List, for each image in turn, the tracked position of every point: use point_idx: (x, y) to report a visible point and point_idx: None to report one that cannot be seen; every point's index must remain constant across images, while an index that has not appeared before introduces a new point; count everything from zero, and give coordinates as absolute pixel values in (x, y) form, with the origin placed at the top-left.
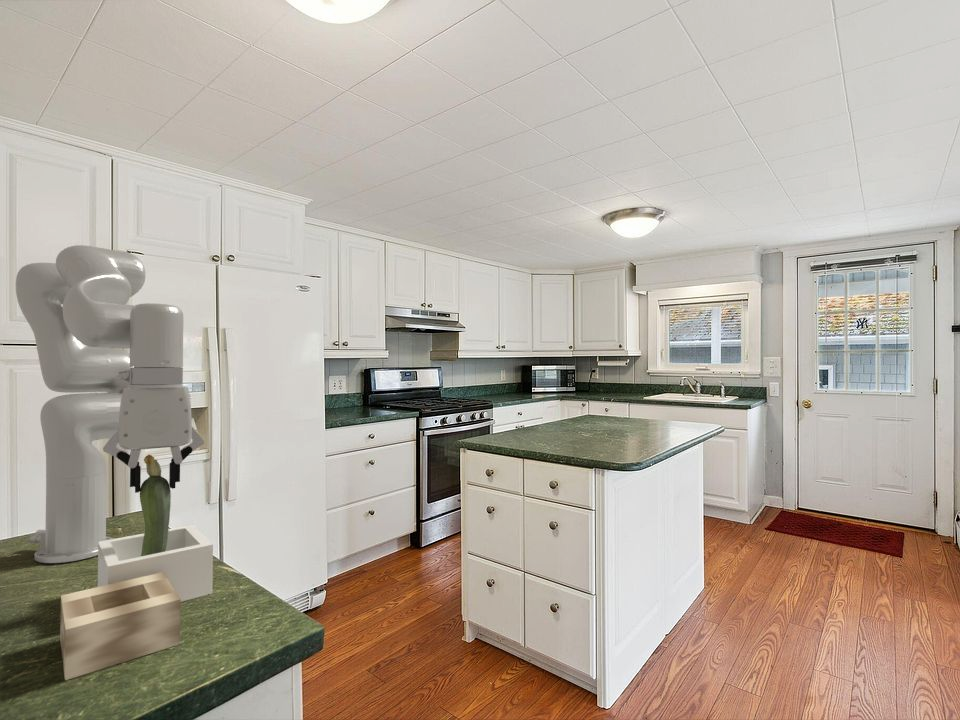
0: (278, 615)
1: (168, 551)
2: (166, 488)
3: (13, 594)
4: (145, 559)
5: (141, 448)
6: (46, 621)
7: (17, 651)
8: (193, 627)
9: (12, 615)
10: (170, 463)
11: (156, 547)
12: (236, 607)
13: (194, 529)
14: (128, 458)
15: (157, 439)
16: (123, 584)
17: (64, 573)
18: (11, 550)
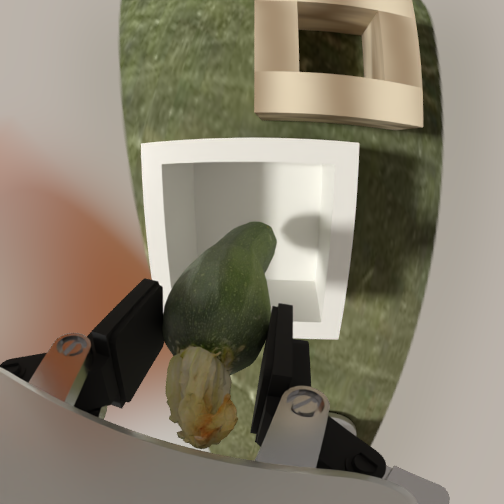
0: (135, 17)
1: (230, 155)
2: (176, 289)
3: (406, 346)
4: (283, 138)
5: (250, 463)
6: (402, 216)
7: (435, 138)
8: (235, 38)
9: (425, 273)
10: (122, 390)
11: (245, 227)
12: (167, 67)
13: None
14: (322, 446)
15: (77, 481)
16: (330, 95)
17: (344, 382)
18: None
